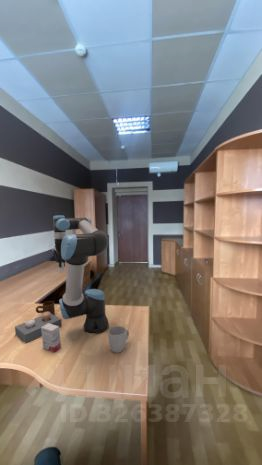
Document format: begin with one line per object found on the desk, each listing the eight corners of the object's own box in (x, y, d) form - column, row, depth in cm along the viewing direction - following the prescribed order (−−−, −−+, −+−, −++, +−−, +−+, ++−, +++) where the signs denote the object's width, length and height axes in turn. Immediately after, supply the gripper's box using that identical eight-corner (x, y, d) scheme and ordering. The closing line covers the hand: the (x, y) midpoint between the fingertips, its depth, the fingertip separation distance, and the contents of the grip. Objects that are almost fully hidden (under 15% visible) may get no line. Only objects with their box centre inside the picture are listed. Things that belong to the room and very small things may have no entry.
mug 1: (37, 322, 141) (36, 308, 140) (35, 317, 147) (34, 304, 146) (56, 316, 147) (55, 303, 146) (53, 312, 154) (52, 300, 153)
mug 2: (117, 356, 104) (116, 337, 104) (105, 349, 111) (104, 330, 110) (134, 344, 114) (134, 326, 113) (122, 338, 120) (122, 321, 119)
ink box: (61, 347, 113) (60, 326, 112) (53, 353, 109) (52, 330, 108) (49, 343, 117) (48, 322, 116) (42, 348, 113) (40, 326, 112)
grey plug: (37, 332, 127) (36, 320, 126) (28, 336, 123) (27, 324, 122) (33, 330, 130) (32, 318, 129) (24, 333, 126) (23, 321, 126)
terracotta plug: (52, 324, 134) (51, 312, 134) (45, 327, 131) (44, 316, 130) (48, 321, 138) (47, 310, 137) (41, 325, 134) (40, 313, 133)
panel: (61, 326, 134) (61, 319, 134) (25, 343, 118) (25, 334, 117) (50, 319, 143) (49, 312, 143) (15, 334, 127) (14, 326, 126)
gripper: (65, 236, 154) (67, 268, 156) (48, 238, 144) (50, 273, 146) (71, 237, 149) (73, 270, 151) (54, 239, 139) (56, 274, 141)
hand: (62, 271), depth 149 cm, fingers closed
